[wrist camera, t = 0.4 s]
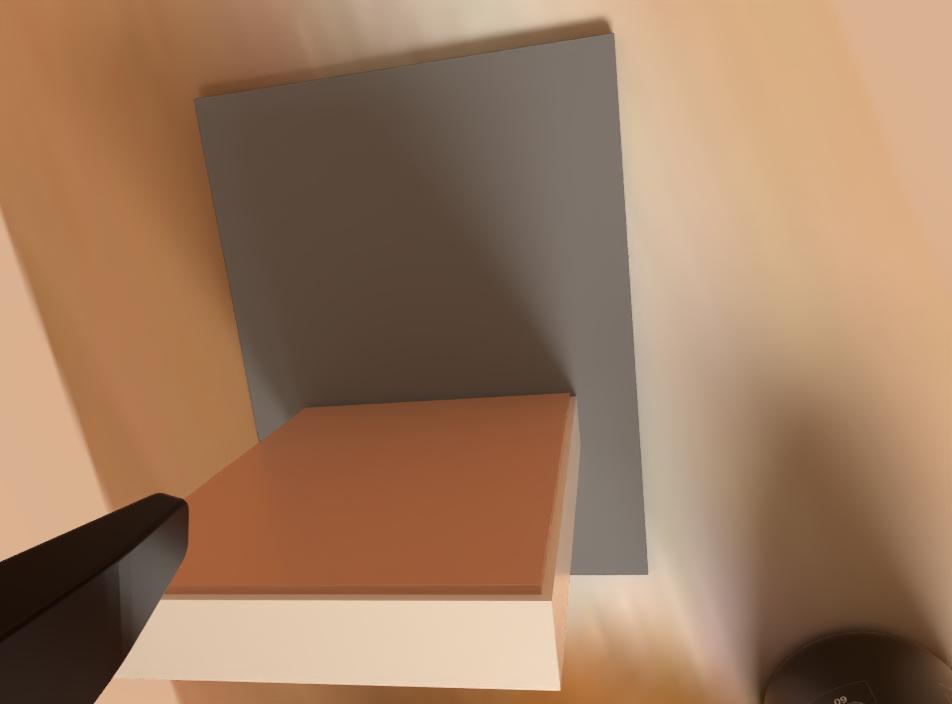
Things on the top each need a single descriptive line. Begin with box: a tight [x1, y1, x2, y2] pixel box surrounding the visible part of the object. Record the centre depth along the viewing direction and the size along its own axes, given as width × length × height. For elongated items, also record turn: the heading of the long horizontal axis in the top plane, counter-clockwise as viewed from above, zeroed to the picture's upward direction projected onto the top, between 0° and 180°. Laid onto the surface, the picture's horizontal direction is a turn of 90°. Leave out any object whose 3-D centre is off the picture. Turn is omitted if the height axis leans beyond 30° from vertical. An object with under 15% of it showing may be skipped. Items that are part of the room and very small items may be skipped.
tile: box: [113, 393, 581, 691], centre depth 19 cm, size 2×10×12 cm, turn 97°
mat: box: [194, 33, 648, 575], centre depth 24 cm, size 18×14×1 cm
